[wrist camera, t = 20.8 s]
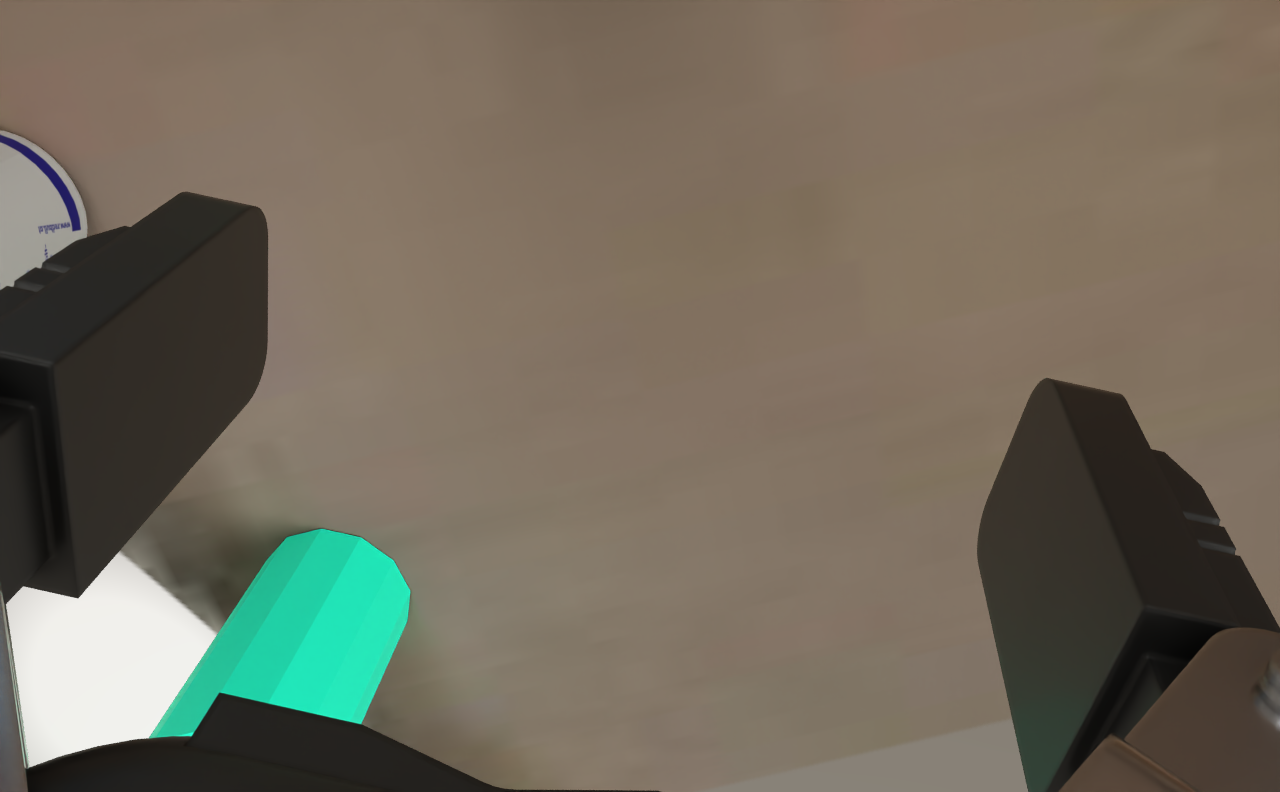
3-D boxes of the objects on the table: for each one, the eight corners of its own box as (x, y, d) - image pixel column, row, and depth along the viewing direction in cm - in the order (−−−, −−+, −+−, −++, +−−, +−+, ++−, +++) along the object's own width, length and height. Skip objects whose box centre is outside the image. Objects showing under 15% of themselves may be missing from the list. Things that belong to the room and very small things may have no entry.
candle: (287, 504, 43) (125, 742, 32) (432, 568, 43) (319, 822, 33) (247, 610, 45) (86, 859, 35) (383, 669, 46) (266, 930, 36)
